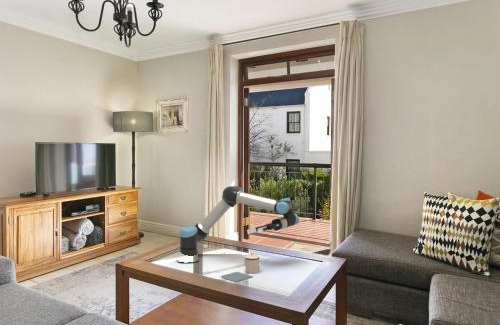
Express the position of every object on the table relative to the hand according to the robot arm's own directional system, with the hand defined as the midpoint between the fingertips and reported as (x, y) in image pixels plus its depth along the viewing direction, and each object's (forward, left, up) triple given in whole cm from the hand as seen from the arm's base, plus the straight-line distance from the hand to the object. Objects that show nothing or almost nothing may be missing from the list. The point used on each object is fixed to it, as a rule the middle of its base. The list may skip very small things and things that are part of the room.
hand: (252, 231), depth 198 cm
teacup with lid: (+2, -4, -24) cm, 24 cm away
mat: (+5, -19, -24) cm, 31 cm away
